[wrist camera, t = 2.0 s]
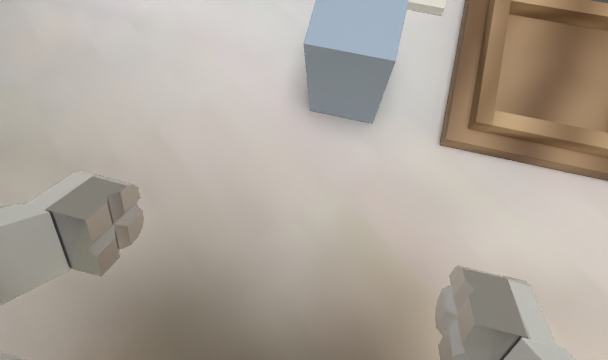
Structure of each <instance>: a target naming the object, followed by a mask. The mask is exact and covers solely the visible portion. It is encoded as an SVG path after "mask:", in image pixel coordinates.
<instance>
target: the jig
mask: <svg viewBox="0 0 608 360" xmlns="http://www.w3.org/2000/svg"><path fill="white" fill-rule="evenodd" d="M440 145H443V146H448V147H453V148H458V149H462V150H467V151H472V152H476V153H481V154H486V155H490V156H495V157H500V158H504V159H509V160H514V161H518V162H523V163H528V164H533V165H537V166H542V167H547V168H551V169H556V170H561V171H565V172H570V173H575V174H579V175H584V176H589V177H594V178H598V179H603V180H608V3H603V2H597V1H591V0H466V1H465V7H464V12H463V18H462V24H461V29H460V35H459V40H458V46H457V52H456V57H455V63H454V68H453V74H452V80H451V85H450V91H449V96H448V102H447V108H446V113H445V119H444V124H443V130H442V136H441V141H440Z"/></svg>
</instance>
